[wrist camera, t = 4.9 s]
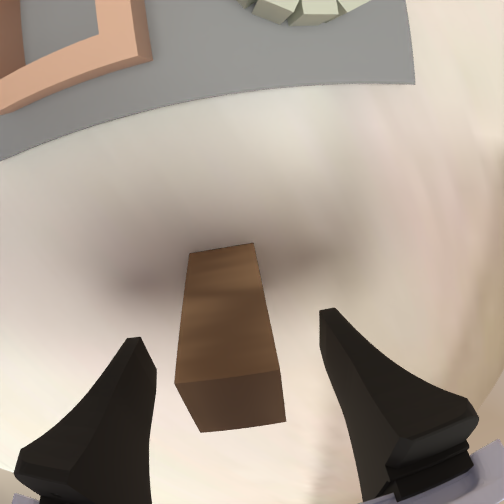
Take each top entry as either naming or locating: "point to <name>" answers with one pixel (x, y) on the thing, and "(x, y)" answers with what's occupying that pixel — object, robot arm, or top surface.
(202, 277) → the square bit
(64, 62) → the socket block
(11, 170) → the top surface
